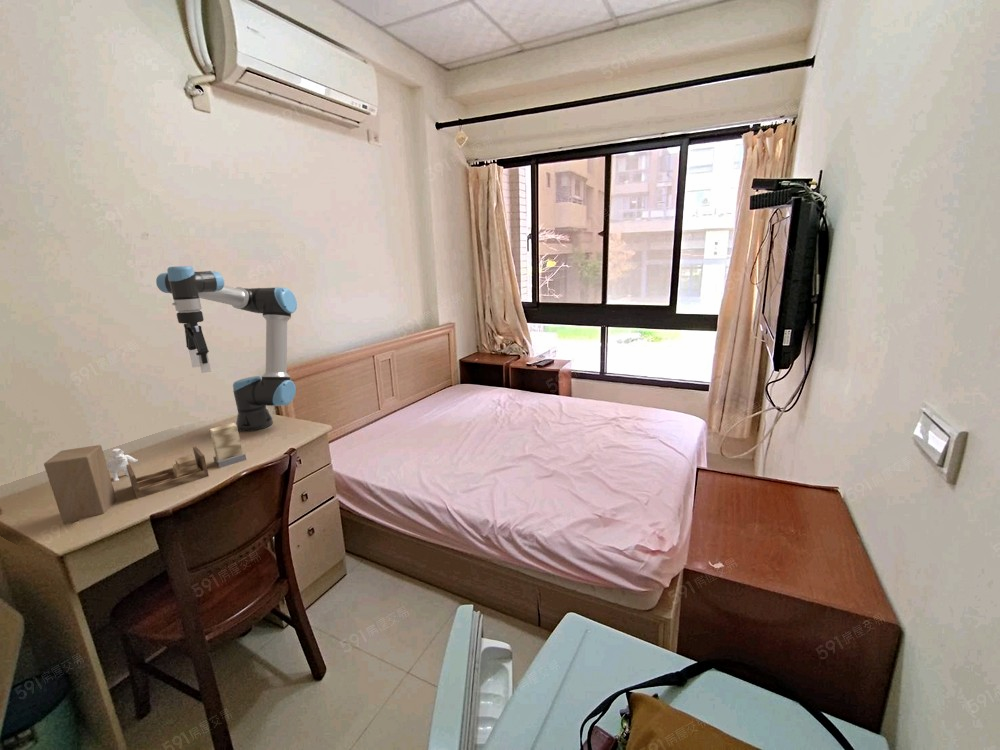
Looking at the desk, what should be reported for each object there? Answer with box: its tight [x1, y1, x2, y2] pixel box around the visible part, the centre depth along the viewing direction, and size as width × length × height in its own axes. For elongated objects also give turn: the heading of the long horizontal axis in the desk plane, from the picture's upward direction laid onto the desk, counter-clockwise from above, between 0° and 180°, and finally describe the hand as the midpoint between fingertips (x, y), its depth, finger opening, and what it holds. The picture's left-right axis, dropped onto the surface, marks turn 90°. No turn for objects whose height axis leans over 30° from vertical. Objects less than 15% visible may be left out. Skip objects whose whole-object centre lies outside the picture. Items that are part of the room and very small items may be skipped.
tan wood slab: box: [209, 422, 244, 464], centre depth 164 cm, size 8×4×14 cm, turn 136°
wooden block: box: [43, 444, 117, 525], centre depth 132 cm, size 10×10×20 cm
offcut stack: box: [171, 454, 201, 478], centre depth 154 cm, size 7×8×6 cm
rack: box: [126, 446, 210, 499], centre depth 150 cm, size 20×12×9 cm, turn 136°
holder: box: [213, 453, 247, 469], centre depth 165 cm, size 10×10×3 cm
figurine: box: [106, 448, 139, 482], centre depth 154 cm, size 9×7×12 cm
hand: (201, 369), depth 159 cm, fingers open, 13 cm apart
